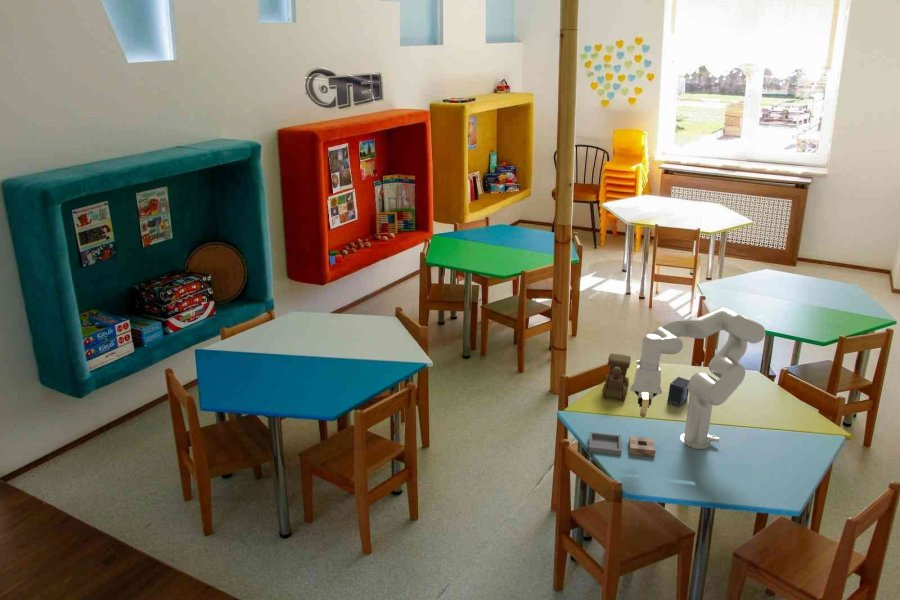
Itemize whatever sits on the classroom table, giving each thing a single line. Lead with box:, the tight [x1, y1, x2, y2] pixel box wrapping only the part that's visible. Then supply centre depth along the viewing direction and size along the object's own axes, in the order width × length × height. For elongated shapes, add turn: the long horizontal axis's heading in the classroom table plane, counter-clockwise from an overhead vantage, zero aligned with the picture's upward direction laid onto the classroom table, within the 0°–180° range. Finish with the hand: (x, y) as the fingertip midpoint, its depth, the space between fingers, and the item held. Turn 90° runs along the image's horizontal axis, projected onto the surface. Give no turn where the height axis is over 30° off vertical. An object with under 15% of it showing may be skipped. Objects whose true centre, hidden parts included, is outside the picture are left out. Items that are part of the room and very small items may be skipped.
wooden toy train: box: [602, 353, 632, 402], centre depth 373 cm, size 20×11×17 cm, turn 163°
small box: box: [666, 376, 690, 408], centre depth 367 cm, size 11×6×10 cm, turn 143°
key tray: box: [588, 431, 623, 456], centre depth 326 cm, size 13×13×3 cm
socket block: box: [628, 435, 656, 458], centre depth 323 cm, size 10×10×4 cm
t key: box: [639, 392, 650, 418], centre depth 317 cm, size 8×2×9 cm, turn 170°
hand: (644, 405), depth 317 cm, fingers closed on t key, 2 cm apart
